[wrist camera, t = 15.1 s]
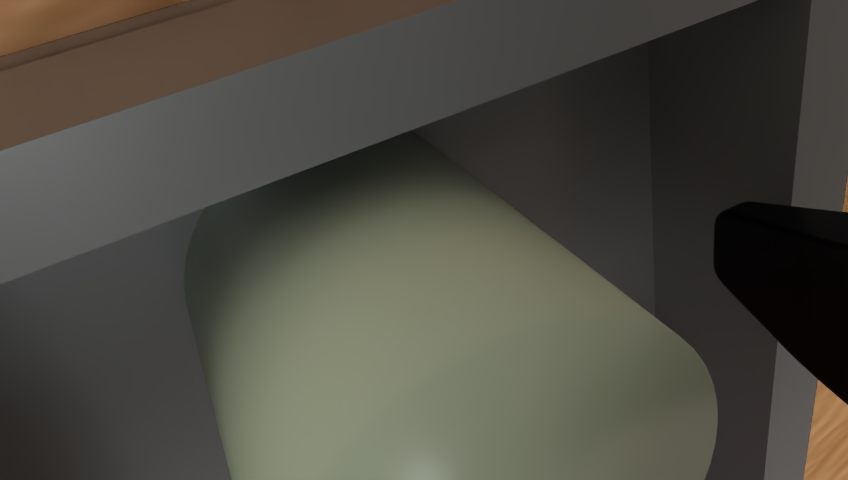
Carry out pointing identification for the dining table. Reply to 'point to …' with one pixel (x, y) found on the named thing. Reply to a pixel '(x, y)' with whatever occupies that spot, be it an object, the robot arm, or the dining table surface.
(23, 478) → the serving bin
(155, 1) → the dining table surface
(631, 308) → the pale green cylinder
